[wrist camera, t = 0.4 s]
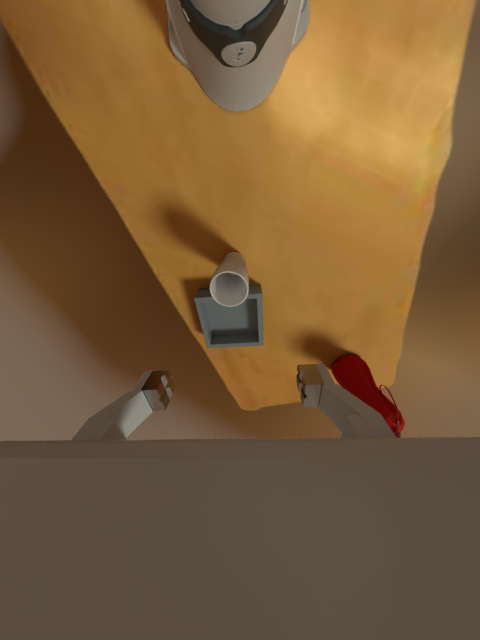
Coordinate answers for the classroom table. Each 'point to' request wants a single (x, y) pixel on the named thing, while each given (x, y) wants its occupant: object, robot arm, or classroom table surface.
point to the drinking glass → (230, 281)
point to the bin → (231, 320)
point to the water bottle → (367, 389)
